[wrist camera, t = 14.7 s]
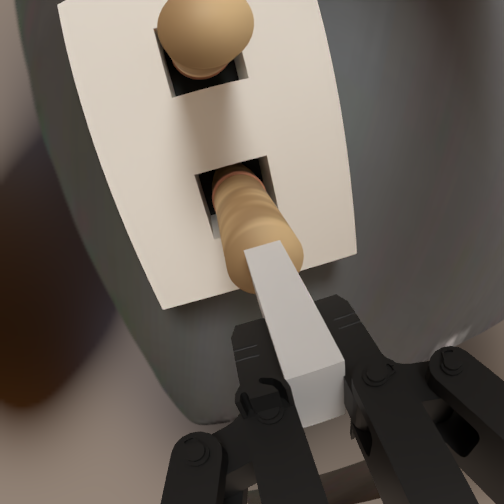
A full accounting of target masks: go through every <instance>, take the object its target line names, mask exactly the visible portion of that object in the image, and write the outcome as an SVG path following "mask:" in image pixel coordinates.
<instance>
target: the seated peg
mask: <svg viewBox="0 0 504 504" xmlns="http://www.w3.org/2000/svg"><path fill="white" fill-rule="evenodd" d="M253 30H254V17H253V13H252V10H251V8H250V6H249V4H248V3H247V1H246V0H168V1H167V2H166V3H165V5H164V6H163V8H162V10H161V12H160V14H159V17H158V22H157V32H158V37H159V40H160V43H161V44H162V46H163V48H164V49H165V51H166V52H167V53H168V55H169V56H170V58H171V59H172V62H173V64H174V66H175V67H176V69H177V70H178V71H179V72H180V73H181V74H183V75H184V76H186V77H189V78H192V79H207V78H210V77H213V76H215V75H217V74H218V73H220V72H221V71H222V70H223V69H224V68H225V67H226V66H227V64H228V63H229V62H230V61H231V60H233V59H234V58H235V57H236V56H238V55H239V54H240V53H241V52H242V51H243V50H244V49H245V47H246V46H247V45H248V43H249V41H250V39H251V37H252V34H253Z"/></svg>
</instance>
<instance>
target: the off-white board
mask: <svg viewBox="0 0 504 504" xmlns="http://www.w3.org/2000/svg"><path fill="white" fill-rule="evenodd" d="M167 1H168V0H66V1H64V2H62V3H60V4H58V11H59V16H60V21H61V26H62V31H63V35H64V40H65V44H66V48H67V53H68V57H69V61H70V65H71V69H72V73H73V76H74V80H75V84H76V87H77V91H78V94H79V98H80V101H81V105H82V108H83V111H84V115H85V118H86V121H87V124H88V127H89V131H90V134H91V137H92V140H93V143H94V146H95V149H96V152H97V154H98V157H99V160H100V163H101V166H102V169H103V171H104V174H105V177H106V179H107V182H108V185H109V187H110V190H111V193H112V195H113V198H114V200H115V203H116V206H117V208H118V211H119V213H120V216H121V218H122V220H123V223H124V225H125V228H126V230H127V232H128V235H129V237H130V239H131V242H132V244H133V246H134V249H135V251H136V253H137V256H138V258H139V260H140V262H141V264H142V267H143V269H144V271H145V273H146V275H147V278H148V280H149V282H150V284H151V286H152V288H153V290H154V292H155V294H156V296H157V299H158V301H159V303H160V305H161V307H162V309H163V310H164V309H168V308H172V307H175V306H179V305H183V304H186V303H190V302H194V301H197V300H201V299H205V298H208V297H212V296H216V295H219V294H223V293H226V292H230V291H233V290H237V289H240V288H238V287H237V286H236V285H235V284H234V283H233V282H232V281H231V279H230V277H229V275H228V272H227V268H226V262H225V257H224V252H223V247H222V242H221V237H220V231H219V226H218V221H217V215H216V214H214V215H211V214H210V211H209V208H208V205H207V201H206V198H205V195H204V191H203V188H202V185H201V181H200V178H199V175H198V174H200V173H203V172H207V171H210V170H214V169H217V168H221V167H224V166H228V165H232V164H235V163H239V162H243V161H247V160H250V159H254V158H258V161H259V166H260V170H261V174H262V179H263V183H264V187H265V189H266V192H267V193H268V195H269V196H270V198H271V199H272V201H273V202H274V204H275V205H276V207H277V208H278V210H279V211H280V213H281V214H282V215H283V217H284V218H285V220H286V221H287V223H288V224H289V226H290V227H291V229H292V230H293V232H294V233H295V235H296V237H297V238H298V240H299V241H300V243H301V245H302V248H303V253H304V260H303V265H302V268H301V270H300V271H302V270H305V269H309V268H312V267H315V266H318V265H322V264H325V263H328V262H332V261H335V260H338V259H341V258H344V257H348V256H351V255H354V254H357V249H356V234H355V221H354V209H353V198H352V189H351V179H350V171H349V163H348V155H347V147H346V140H345V133H344V127H343V120H342V114H341V108H340V102H339V97H338V91H337V86H336V80H335V75H334V70H333V65H332V60H331V56H330V51H329V47H328V42H327V38H326V34H325V29H324V25H323V21H322V17H321V13H320V9H319V6H318V2H317V0H246V1H247V3H248V4H249V6H250V8H251V10H252V13H253V17H254V30H253V34H252V37H251V39H250V41H249V43H248V45H247V46H246V47H245V49H244V50H243V51H242V52H241V53H240V54H239V55H238V56H236V57H235V58H234V62H235V66H236V70H237V74H238V78H239V80H238V81H233V82H229V83H225V84H221V85H217V86H213V87H209V88H205V89H202V90H198V91H194V92H191V93H187V94H184V95H181V96H177V97H176V95H175V91H174V87H173V84H172V80H171V77H170V73H169V69H168V65H167V62H166V58H165V54H164V51H163V47H162V44H161V43H160V40H159V37H158V32H157V22H158V17H159V14H160V12H161V10H162V8H163V6H164V5H165V3H166V2H167Z"/></svg>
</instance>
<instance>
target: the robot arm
mask: <svg viewBox="0 0 504 504" xmlns="http://www.w3.org/2000/svg"><path fill="white" fill-rule="evenodd" d="M244 253H245V257H246V261H247V264H248V268H249V271H250V275H251V279H252V282H253V286H254V289H255V293H256V296H257V300H258V304H259V307H260V310H261V313H262V316H263V318H262V319H258V320H255V321H251V322H248V323H244V324H241V325H237V326H235V329H234V332H233V335H232V337H231V340H232V345H233V350H234V356H235V361H236V367H237V372H238V377H239V382H240V387H239V388H238V390H237V392H236V394H235V404H236V406H237V408H238V410H239V412H240V414H239V415H238V417H237V418H236V419H235V420H234V421H233V422H232V423H231V424H229V425H228V426H226V427H225V428H223V429H221V430H219V431H217V432H215V433H213V434H212V435H211V434H209V433H205V432H194V433H190V434H188V435H186V436H184V437H182V438H181V439H180V440H179V441H178V442H177V443H176V444H175V446H174V448H173V450H172V453H171V458H170V463H169V467H168V472H167V476H166V481H165V486H164V490H163V495H162V500H161V504H247V494H248V487H250V486H252V485H253V484H255V483H257V485H258V489H259V494H260V498H261V503H262V504H329V503H328V500H327V497H326V494H325V491H324V489H323V486H322V483H321V480H320V477H319V474H318V471H317V468H316V465H315V462H314V459H313V456H312V453H311V451H310V447H309V444H308V442H307V439H306V436H305V433H304V430H303V428H305V427H308V426H312V425H315V424H318V423H321V422H324V421H326V420H329V419H332V418H335V417H338V416H341V415H343V414H345V407H346V409H347V411H348V413H349V416H350V418H351V427H350V435H351V439H354V438H356V440H357V443H358V445H359V447H360V449H361V452H362V454H363V456H364V459H365V461H366V463H367V466H368V468H369V471H370V473H371V475H372V478H373V480H374V482H375V485H376V487H377V489H378V492H379V494H380V497H381V499H382V501H383V504H478V502H477V500H476V498H475V496H474V494H473V492H472V490H471V488H470V486H469V484H468V482H467V481H466V479H465V477H464V475H463V473H462V471H461V470H460V468H461V469H462V470H463V471H464V472H465V473H466V474H467V475H468V476H469V477H470V478H471V479H472V480H473V481H474V482H475V483H476V484H477V485H478V486H479V487H480V488H481V489H482V490H483V491H484V492H485V493H486V494H487V495H488V496H489V497H490V498H491V499H492V500H493V501H494V502H495V503H496V504H504V381H503V380H502V379H500V378H499V377H498V376H497V375H495V374H494V373H493V372H492V371H491V370H489V369H488V368H487V367H486V366H484V365H483V364H482V363H481V362H479V361H478V360H476V359H475V358H474V357H473V356H472V355H470V354H469V353H468V352H466V351H465V350H463V349H461V348H459V347H453V346H448V347H442V348H441V349H439V350H437V351H435V353H434V354H433V355H432V356H431V358H430V361H427V362H420V363H413V364H400V363H395V362H394V361H393V360H391V359H388V358H386V357H385V356H384V355H383V354H382V353H381V352H380V350H379V349H378V347H377V345H376V344H375V342H374V341H373V339H372V338H371V336H370V335H369V333H368V331H367V330H366V328H365V327H364V325H363V324H362V322H360V319H359V318H358V316H357V315H356V314H355V312H354V310H353V309H352V307H351V306H350V304H349V302H348V301H346V300H345V299H343V298H341V297H340V296H338V295H333V296H330V297H327V298H324V299H321V300H317V301H313V300H312V298H311V296H310V294H309V292H308V290H307V288H306V287H305V285H304V283H303V281H302V279H301V277H300V276H299V274H298V272H297V270H296V268H295V266H294V265H293V263H292V261H291V259H290V257H289V256H288V254H287V252H286V250H285V248H284V246H283V245H282V243H281V241H280V240H278V241H274V242H271V243H267V244H264V245H260V246H257V247H253V248H250V249H246V250H244ZM459 467H460V468H459Z"/></svg>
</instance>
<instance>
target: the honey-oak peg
mask: <svg viewBox="0 0 504 504" xmlns="http://www.w3.org/2000/svg"><path fill="white" fill-rule="evenodd" d="M212 202H213V207H214V210H215V211H216V215H217V221H218V226H219V231H220V237H221V242H222V247H223V252H224V257H225V262H226V268H227V272H228V275H229V277H230V279H231V281H232V282H233V283H234V284H235V285H236V286H237V287H238V288H240V289H241V290H243V291H245V292H248V293H252V294H256V293H255V289H254V286H253V282H252V279H251V275H250V271H249V268H248V264H247V261H246V257H245V253H244V250H246V249H250V248H253V247H257V246H260V245H264V244H267V243H271V242H274V241H278V240H280V241H281V243H282V245H283V246H284V248H285V250H286V252H287V254H288V256H289V257H290V259H291V261H292V263H293V265H294V266H295V268H296V270H297V272H298V274H299V272H300V270H301V268H302V265H303V260H304V253H303V248H302V245H301V243H300V241H299V240H298V238H297V237H296V235H295V233H294V232H293V230H292V229H291V227H290V226H289V224H288V223H287V221H286V220H285V218H284V217H283V215H282V214H281V213H280V211H279V210H278V208H277V207H276V205H275V204H274V202H273V201H272V199H271V198H270V196H269V195H268V193H267V192H266V189H265V187H264V185H263V183H262V182H261V181H260V179H259V178H258V177H257V176H255V174H254V173H253V172H252V171H251V170H250V169H249V168H247V167H245V166H244V165H243V164H241V163H235V164H232V165H228V166H224V167H221V168H217V169H216V171H215V173H214V176H213V182H212Z"/></svg>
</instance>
